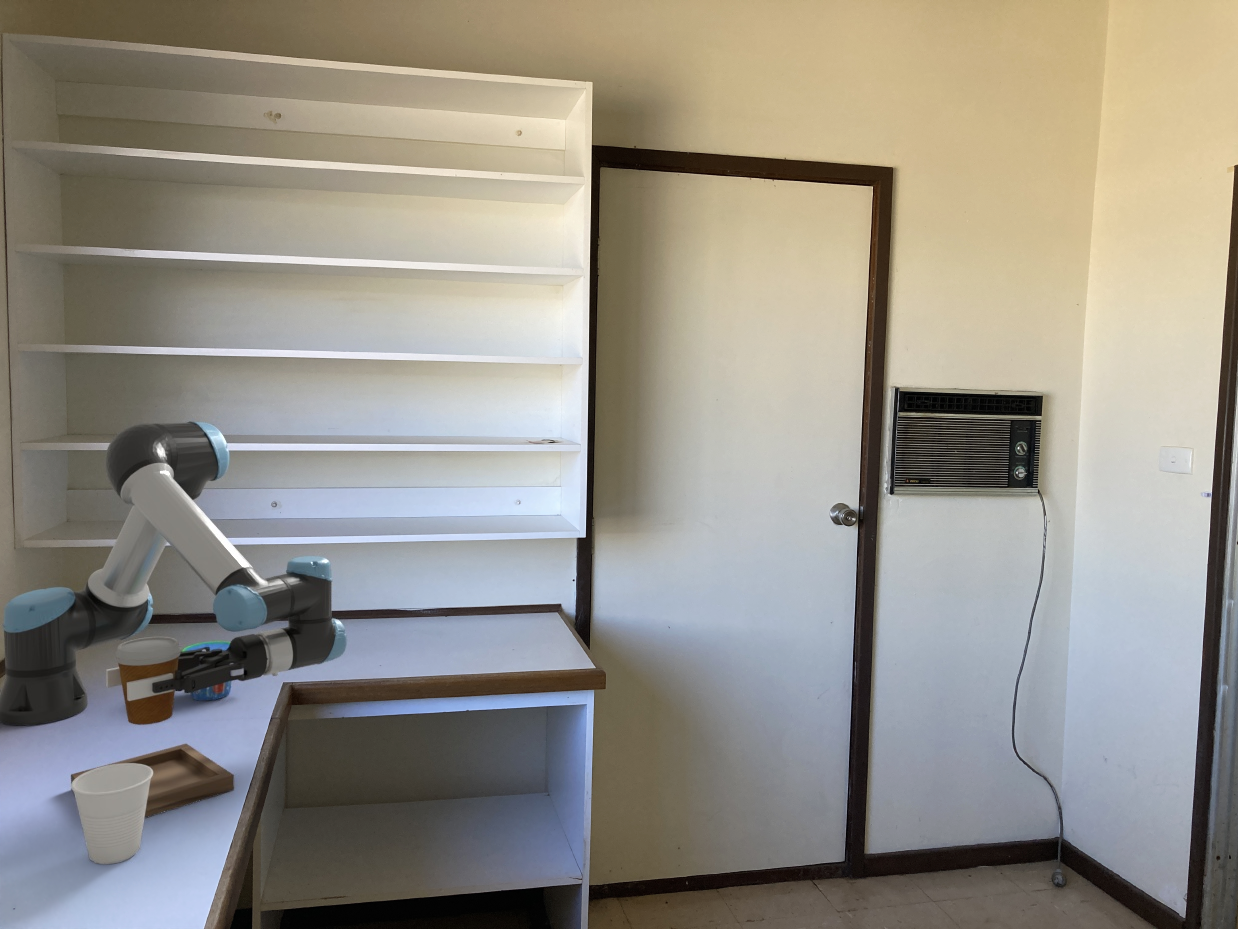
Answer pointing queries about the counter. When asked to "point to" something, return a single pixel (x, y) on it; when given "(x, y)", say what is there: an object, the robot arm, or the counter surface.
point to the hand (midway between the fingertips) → (117, 685)
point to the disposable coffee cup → (148, 675)
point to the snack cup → (216, 690)
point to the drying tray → (179, 778)
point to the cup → (113, 809)
